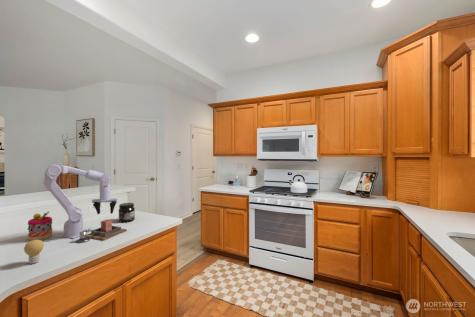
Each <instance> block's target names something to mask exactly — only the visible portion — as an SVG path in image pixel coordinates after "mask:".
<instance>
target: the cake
mask: <svg viewBox="0 0 475 317" xmlns="http://www.w3.org/2000/svg"><path fill="white" fill-rule="evenodd" d="M49 213H50V211H49V210H48V211H47V212H44V213H43V214H42V215H41V214H40V213H35V214H33V216H32V219H29V220H28V222H27V225H28V226H27V230H28V234H27V236H28V242H30V241H32V240H41V241H44V240H47V239H49V238H52V236H53V225H52V224H53V218H52V217H51V216H48V215H49Z"/></svg>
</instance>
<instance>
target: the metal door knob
mask: <svg viewBox="0 0 475 317" xmlns="http://www.w3.org/2000/svg"><path fill="white" fill-rule="evenodd" d="M86 233H87V230H83V231H82V232H80V236H79V238H77V239H76V243H77V244H82V243H86V242H90V239H91V238H89V237H86V235H87V234H86Z"/></svg>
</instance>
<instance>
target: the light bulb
mask: <svg viewBox="0 0 475 317" xmlns="http://www.w3.org/2000/svg"><path fill="white" fill-rule="evenodd" d="M44 246H45V244H44V241H43V240H32V241H28V242H27V243H26V244H25V245H24V247H23V250H24V253H25V254H26V255H27V256H28V263H29V264H30V265H32V264H37V263H39V262H40V261H41V252H42V251H43V249H44Z"/></svg>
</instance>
